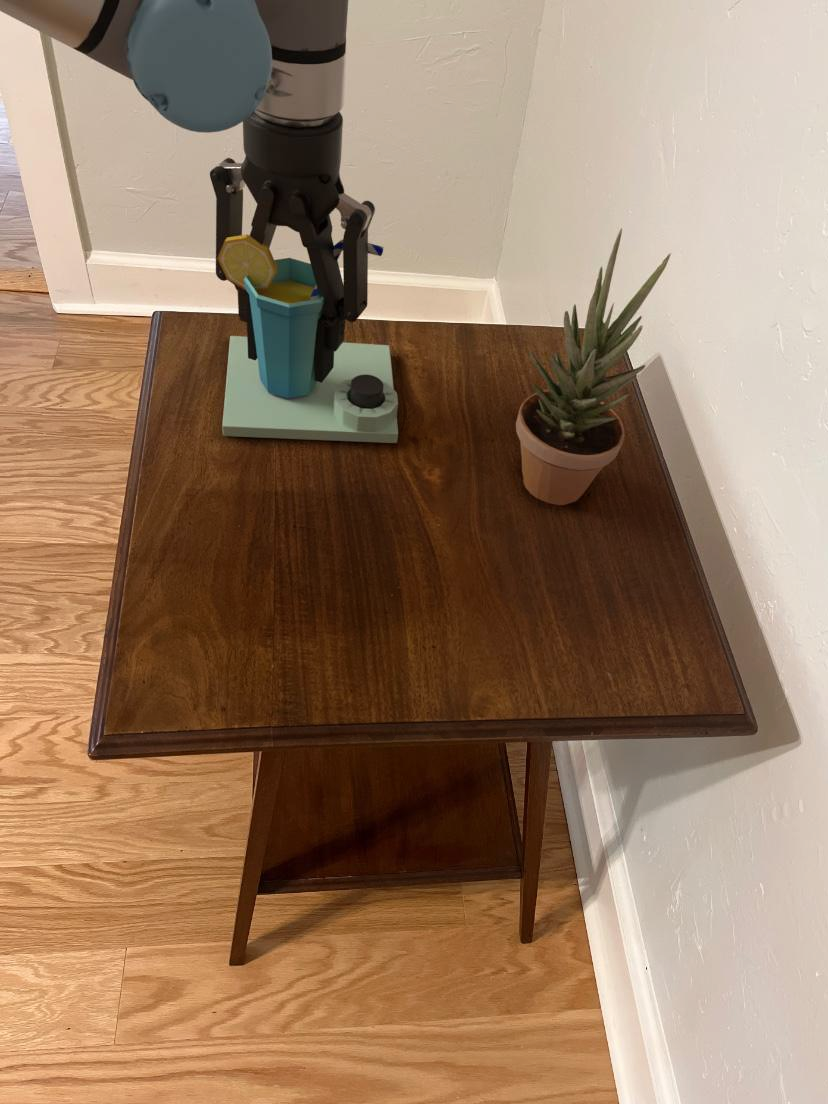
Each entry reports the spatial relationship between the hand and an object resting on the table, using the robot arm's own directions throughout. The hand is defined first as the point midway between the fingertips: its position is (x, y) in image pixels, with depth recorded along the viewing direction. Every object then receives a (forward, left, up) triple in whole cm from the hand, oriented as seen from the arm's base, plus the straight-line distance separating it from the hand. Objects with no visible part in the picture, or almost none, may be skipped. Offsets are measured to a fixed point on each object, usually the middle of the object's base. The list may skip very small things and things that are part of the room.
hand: (290, 362), depth 86 cm
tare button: (+8, -1, -1) cm, 8 cm away
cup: (+1, 0, -2) cm, 2 cm away
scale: (+2, +1, -3) cm, 4 cm away
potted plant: (+27, 0, -4) cm, 27 cm away
